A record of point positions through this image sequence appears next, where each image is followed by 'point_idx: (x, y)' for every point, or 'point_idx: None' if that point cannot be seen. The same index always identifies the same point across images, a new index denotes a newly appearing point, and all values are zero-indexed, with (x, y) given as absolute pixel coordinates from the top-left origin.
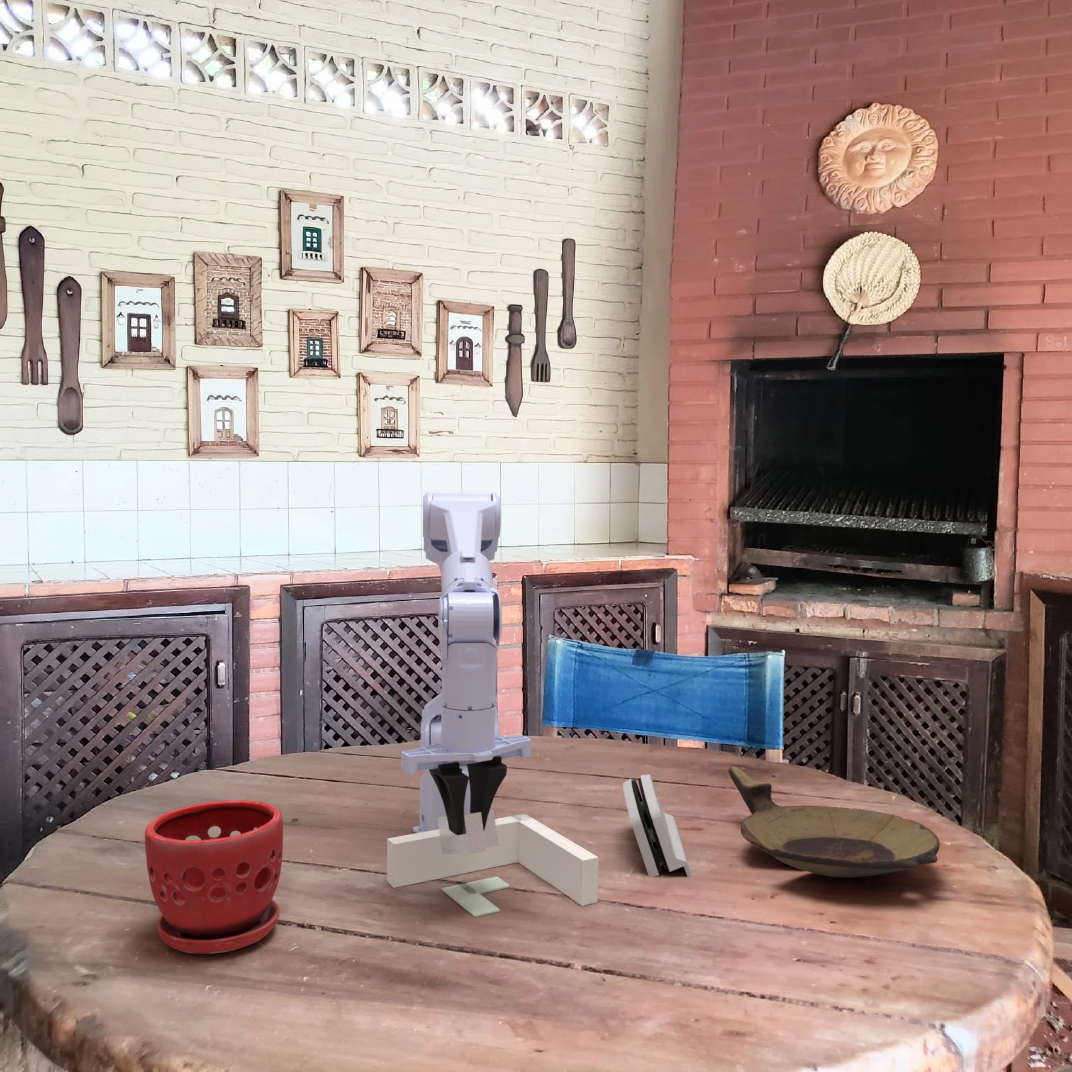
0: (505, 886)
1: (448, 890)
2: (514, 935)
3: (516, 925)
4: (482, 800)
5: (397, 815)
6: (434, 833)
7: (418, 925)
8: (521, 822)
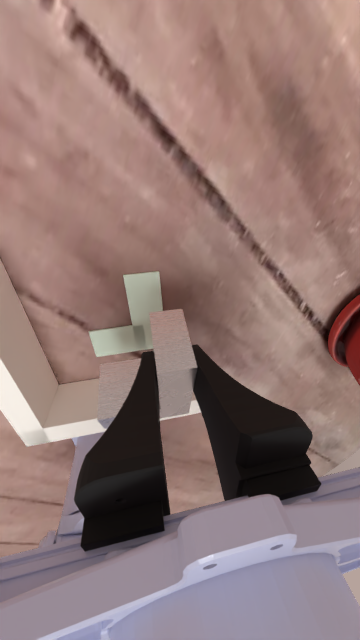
0: (94, 331)
1: None
2: (128, 198)
3: (115, 227)
4: (155, 395)
5: None
6: None
7: (223, 276)
8: (39, 425)
